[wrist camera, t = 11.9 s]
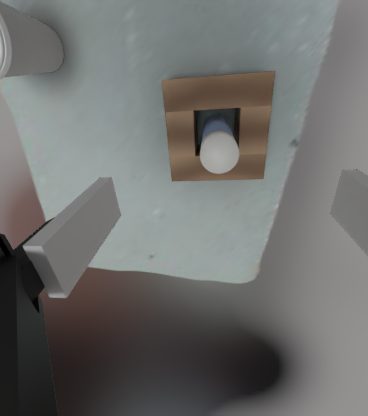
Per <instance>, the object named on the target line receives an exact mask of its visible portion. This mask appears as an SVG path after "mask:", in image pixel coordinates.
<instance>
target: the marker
mask: <svg viewBox="0 0 368 416" xmlns="http://www.w3.org/2000/svg"><path fill="white" fill-rule="evenodd" d="M238 159H239V148H238V146H237V143H236V141H235V139H234V136H233V134H232V131H231V129H230V127H229V124H228V122H227V120H226V118H225V117H224V116H223V115H222V114H219V113H214V114H211V115H209V116H208V117H207V118H206V120H205V123H204V129H203V136H202V143H201V150H200V160H201V163H202V165H203V166H204V168H205V169H207V170H208V171H210V172H212V173H216V174H222V173H226V172H228V171H230V170H231V169H232V168H233V167H234V166H235V165H236V164H237V162H238Z"/></svg>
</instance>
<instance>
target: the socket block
mask: <svg viewBox="0 0 368 416" xmlns="http://www.w3.org/2000/svg"><path fill="white" fill-rule="evenodd" d="M274 77H275V71H267V72H255V73H243V74H230V75H218V76H205V77H193V78H180V79H168V80H162V87H163V97H164V107H165V117H166V126H167V136H168V146H169V156H170V166H171V176H172V181H203V180H245V179H263V178H264V169H265V160H266V151H267V141H268V132H269V123H270V114H271V105H272V95H273V86H274ZM227 108H236V112H235V138H234V139H235V141H236V143H237V146H238V148H239V159H238V162H237V164H236V165H235V166H234V167H233V168H232V169H231V170H230V171H228V172H226V173H222V174H216V173H212V172H210V171H208V170H207V169H205V168H204V166H203V165H202V163H201V160H200V150H201V145H198V144H197V118H196V110H211V109H227Z"/></svg>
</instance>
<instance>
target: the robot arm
mask: <svg viewBox="0 0 368 416" xmlns="http://www.w3.org/2000/svg"><path fill="white" fill-rule="evenodd" d="M330 214H331V215H332V216H333V218H334V219H335V220H336V221H337V222H338V223H339V224H340V225H341V227H342V228H343V229H344V230H345V231H346V232H347V233H348V234H349V235H350V237H351V238H352V239H353V240H354V241H355V242H356V243H357V244H358V246H360V248H361V249H362V250H363V251H364V252H365V253H366V255H367V256H368V175H366V174H364V173H363V172H361V171H359V170H358V169H356V170H355V169H354V170H342V173H341V176H340V180H339V184H338V187H337V191H336V194H335V198H334V201H333V205H332V208H331V212H330ZM120 216H121V214H120V210H119V205H118V201H117V197H116V193H115V189H114V185H113V181H112V177H107V178H99V179H98V180H97V181H96V182H94V183H93V184H92V185H91V186H90V187H89V188H88V189H87V190H85V191H84V192H83V193H82V194H81V195H80V196H79V197H77V198H76V199H75V200H74V201H73V202H72V203H71V204H70V205H68V206H67V207H66V208H65V209H64V210H63V211H62V212H60V213H59V214H58V215H57V216H56V217H54V218H52V219H51V220H49V221H47V222H46V223H44V224H43V225H42V226H41V227H40V228H39V230H36V231H35V232H34V233H33V235H30V236H29V237H28V238H27V239H26V240H25V241H24V242H22V243H21V244H20V245H19V246H18V247H17V248H15V249H14V250H13V249H12V247H11V245H10V244H9V242H8V240H7V238H6V237H5V235H3V234H0V416H58V411H57V405H56V397H55V390H54V383H53V376H52V369H51V362H50V355H49V348H48V341H47V334H46V327H45V320H44V313H43V305H42V300H41V298H40V297H39V294H40V292H41V291H42V290H43V289H44V287H45V289H46V291H47V293H48V295H49V297H53V298H54V297H55V298H67V297H68V295H69V294H70V292H71V291H72V289H73V287H74V286H75V284H76V283H77V281H78V280H79V278H80V277H81V275H82V274H83V272H84V271H85V269H86V268H87V266H88V265H89V263H90V262H91V260H92V259H93V257H94V256H95V254H96V253H97V251H98V250H99V248H100V247H101V245H102V244H103V242H104V241H105V239H106V238H107V236H108V235H109V233H110V232H111V230H112V229H113V227H114V226H115V224H116V223H117V221H118V219H119V218H120Z"/></svg>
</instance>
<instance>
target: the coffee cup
mask: <svg viewBox="0 0 368 416" xmlns="http://www.w3.org/2000/svg"><path fill="white" fill-rule="evenodd" d="M63 59H64V50H63V46H62V43H61V40H60V38H59V37H58V35H57V34H56V33H55V31H54V30H53V29H52V28H50V27H49V26H48V25H46V24H44V23H42V22H40V21H38V20H36V19H34V18H32V17H30V16H28V15H26V14H24V13H22V12H20V11H18V10H16V9H14V8H12V7H10V6H8V5H6V4H4V3H2V2H0V79H2V78H3V77H10V76H20V75H29V74H39V73H49V72H54V71H56V70H58V69H59V68H60V67H61V65H62V63H63Z"/></svg>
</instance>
